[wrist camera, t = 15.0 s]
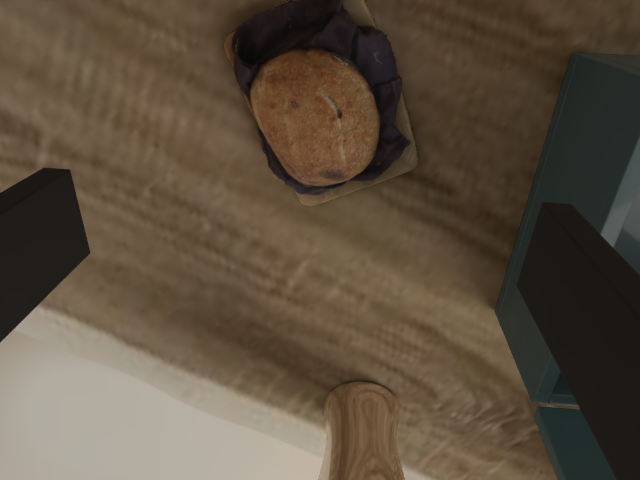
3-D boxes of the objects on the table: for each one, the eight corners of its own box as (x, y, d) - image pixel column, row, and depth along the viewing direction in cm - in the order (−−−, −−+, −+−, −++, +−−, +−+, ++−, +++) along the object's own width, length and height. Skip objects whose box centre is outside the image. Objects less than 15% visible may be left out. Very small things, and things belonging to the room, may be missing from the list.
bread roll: (427, 161, 26) (437, 187, 23) (295, 208, 28) (288, 237, 25) (364, -37, 22) (366, -39, 18) (212, 36, 24) (190, 46, 20)
